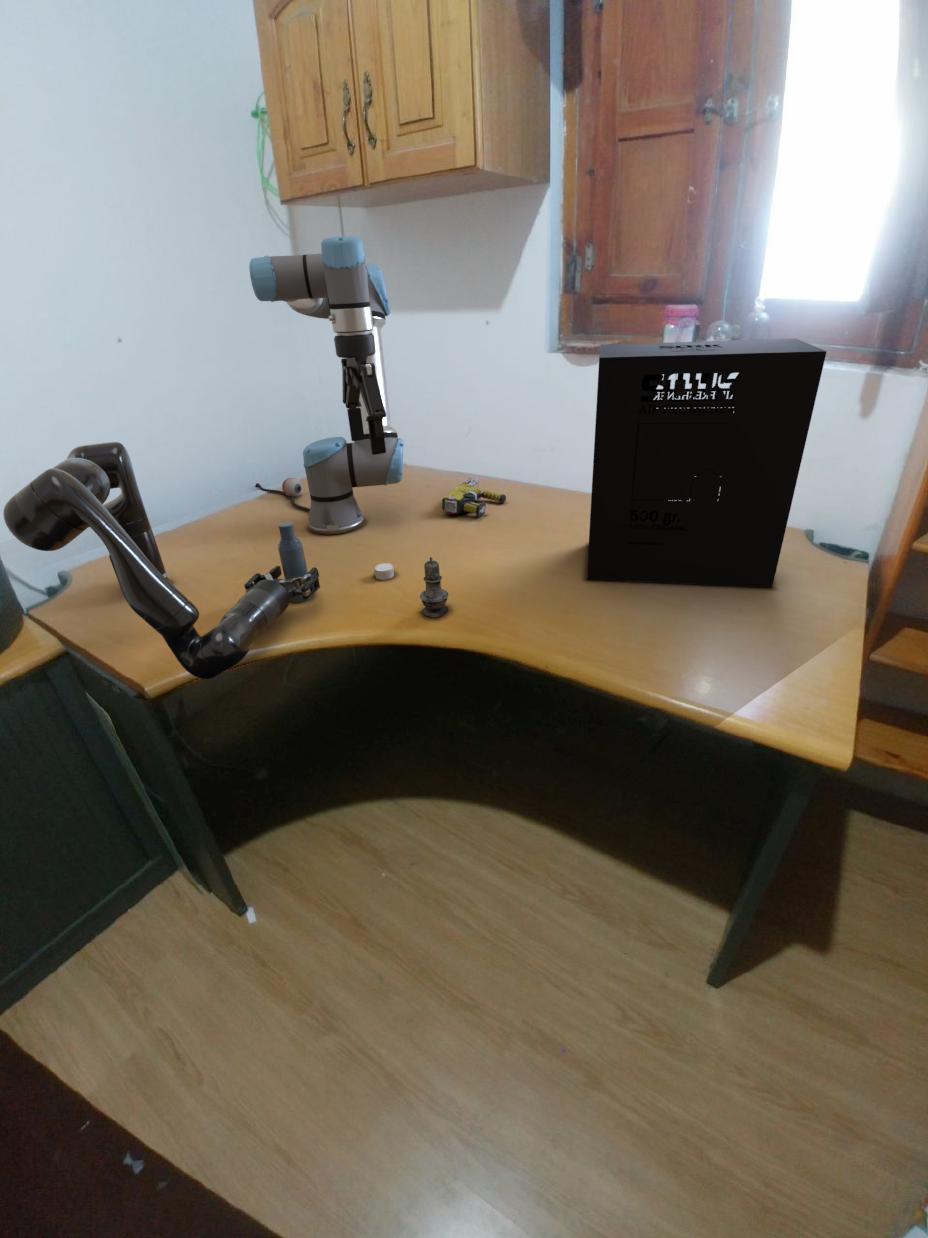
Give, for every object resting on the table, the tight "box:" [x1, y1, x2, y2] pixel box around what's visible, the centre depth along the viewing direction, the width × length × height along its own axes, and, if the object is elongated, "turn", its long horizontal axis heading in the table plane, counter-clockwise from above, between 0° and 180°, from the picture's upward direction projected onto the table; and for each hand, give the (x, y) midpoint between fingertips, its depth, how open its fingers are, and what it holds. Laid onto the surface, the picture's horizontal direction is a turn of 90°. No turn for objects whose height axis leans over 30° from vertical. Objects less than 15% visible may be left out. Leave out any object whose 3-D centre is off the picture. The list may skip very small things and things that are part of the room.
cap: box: [374, 562, 395, 581], centre depth 139 cm, size 4×4×2 cm
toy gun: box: [441, 477, 507, 518], centre depth 177 cm, size 5×24×15 cm
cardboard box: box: [586, 338, 828, 589], centre depth 126 cm, size 38×20×45 cm, turn 78°
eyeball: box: [281, 477, 303, 498], centre depth 192 cm, size 6×6×6 cm
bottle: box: [277, 521, 313, 603], centre depth 128 cm, size 5×5×17 cm
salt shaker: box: [419, 556, 450, 618], centre depth 120 cm, size 6×6×12 cm
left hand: (297, 570), depth 130 cm, fingers open, 8 cm apart
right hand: (368, 446), depth 125 cm, fingers open, 13 cm apart
